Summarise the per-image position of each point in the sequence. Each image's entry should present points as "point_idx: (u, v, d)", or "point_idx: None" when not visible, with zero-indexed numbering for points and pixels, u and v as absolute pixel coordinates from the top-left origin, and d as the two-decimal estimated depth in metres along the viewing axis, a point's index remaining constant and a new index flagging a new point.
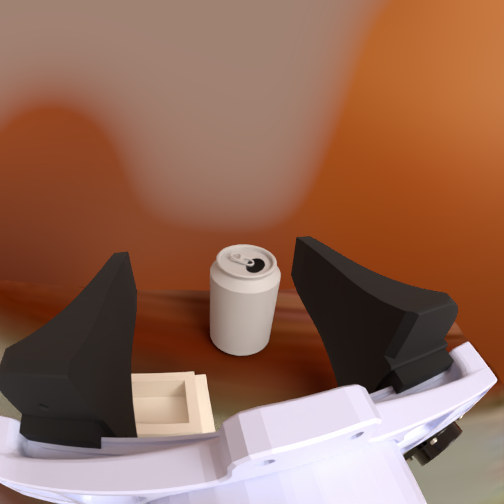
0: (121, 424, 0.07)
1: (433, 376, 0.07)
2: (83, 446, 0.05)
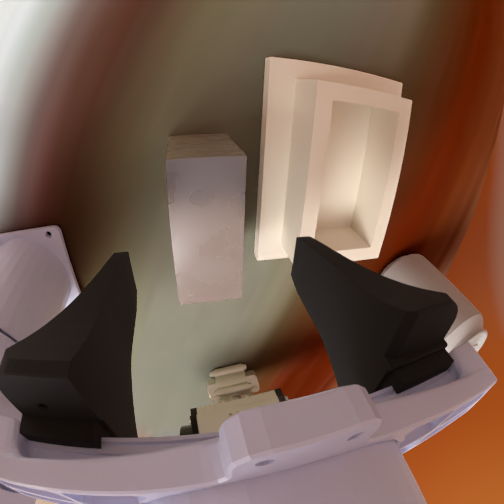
0: (121, 424, 0.07)
1: (433, 376, 0.07)
2: (83, 446, 0.05)
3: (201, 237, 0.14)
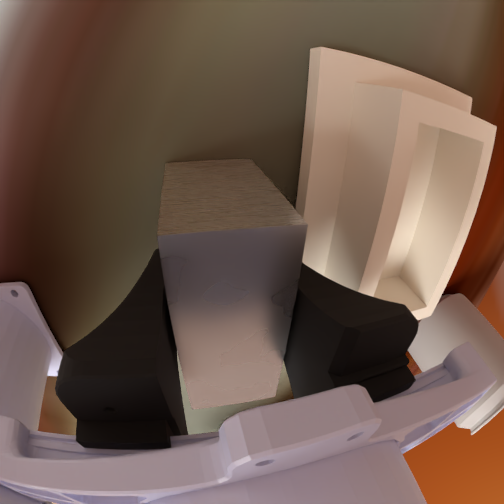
0: (181, 421, 0.07)
1: (391, 396, 0.07)
2: (152, 447, 0.05)
3: (224, 343, 0.09)
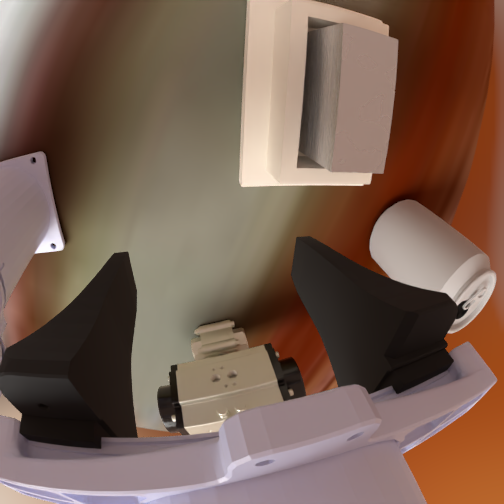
0: (121, 424, 0.07)
1: (433, 376, 0.07)
2: (83, 446, 0.05)
3: (363, 98, 0.13)
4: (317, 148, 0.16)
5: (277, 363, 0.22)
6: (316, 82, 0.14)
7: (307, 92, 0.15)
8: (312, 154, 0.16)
